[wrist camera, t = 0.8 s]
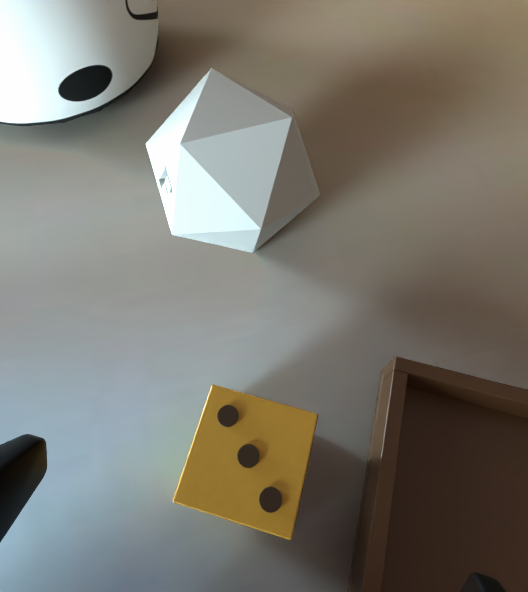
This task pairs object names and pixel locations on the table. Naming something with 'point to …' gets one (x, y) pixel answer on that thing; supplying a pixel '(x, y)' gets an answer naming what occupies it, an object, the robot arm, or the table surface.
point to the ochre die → (248, 461)
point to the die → (231, 165)
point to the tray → (443, 484)
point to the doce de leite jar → (71, 56)
